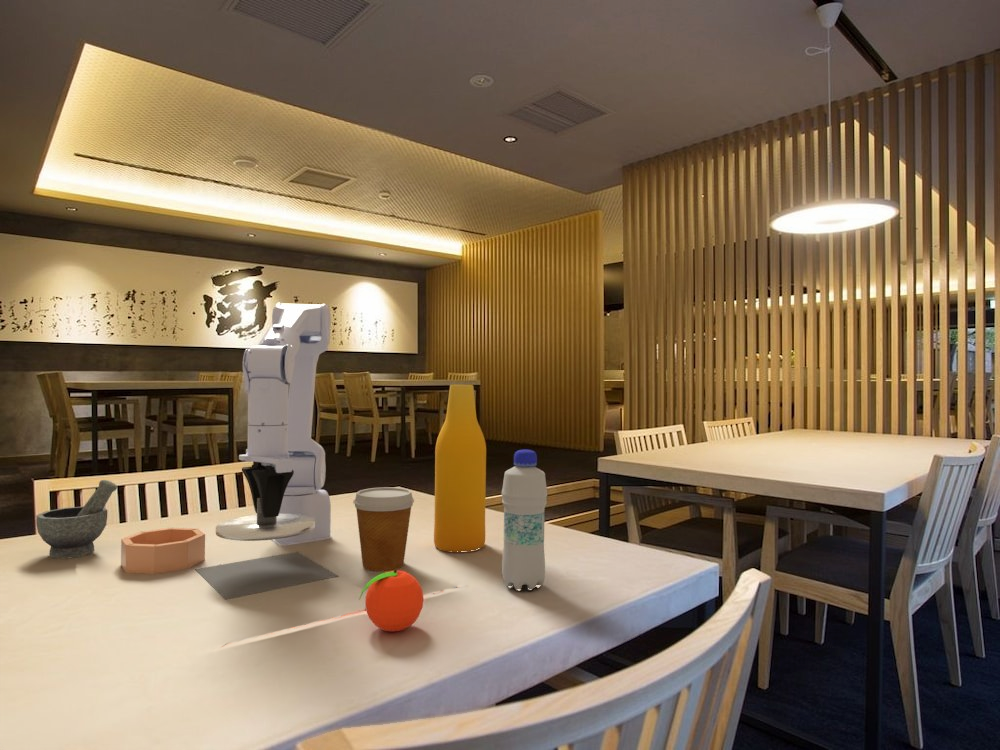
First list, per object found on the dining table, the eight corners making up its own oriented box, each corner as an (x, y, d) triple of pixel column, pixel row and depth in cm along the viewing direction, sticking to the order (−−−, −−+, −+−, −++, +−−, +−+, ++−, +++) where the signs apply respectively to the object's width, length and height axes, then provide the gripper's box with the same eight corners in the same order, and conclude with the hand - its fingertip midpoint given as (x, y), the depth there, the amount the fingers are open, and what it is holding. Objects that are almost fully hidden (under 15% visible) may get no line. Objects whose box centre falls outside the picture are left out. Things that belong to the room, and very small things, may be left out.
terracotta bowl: (192, 551, 106) (193, 524, 106) (210, 567, 97) (210, 538, 97) (117, 562, 99) (118, 534, 99) (129, 580, 90) (129, 550, 90)
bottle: (551, 582, 92) (553, 448, 92) (539, 597, 86) (541, 453, 86) (508, 576, 94) (510, 445, 95) (493, 591, 88) (495, 450, 88)
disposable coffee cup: (424, 563, 100) (425, 490, 100) (390, 581, 92) (391, 500, 92) (376, 556, 104) (377, 485, 104) (339, 571, 96) (340, 494, 96)
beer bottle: (472, 556, 105) (474, 385, 105) (424, 549, 109) (426, 384, 109) (493, 542, 114) (495, 385, 114) (448, 537, 117) (450, 384, 117)
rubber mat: (297, 554, 105) (297, 551, 105) (338, 579, 92) (338, 575, 92) (195, 572, 95) (195, 569, 95) (225, 602, 82) (225, 599, 82)
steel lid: (294, 514, 103) (294, 485, 103) (330, 530, 92) (330, 498, 93) (204, 526, 94) (204, 495, 94) (232, 546, 84) (232, 510, 84)
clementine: (371, 649, 69) (372, 585, 69) (347, 628, 75) (347, 569, 75) (433, 632, 74) (434, 572, 74) (406, 614, 79) (407, 558, 79)
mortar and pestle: (30, 564, 97) (31, 488, 97) (40, 549, 105) (41, 479, 106) (114, 555, 103) (115, 483, 103) (117, 542, 111) (118, 475, 111)
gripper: (226, 422, 97) (225, 509, 97) (256, 429, 85) (255, 527, 85) (271, 420, 101) (270, 503, 101) (306, 427, 90) (305, 520, 90)
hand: (266, 514), depth 93 cm, fingers closed on steel lid, 3 cm apart
